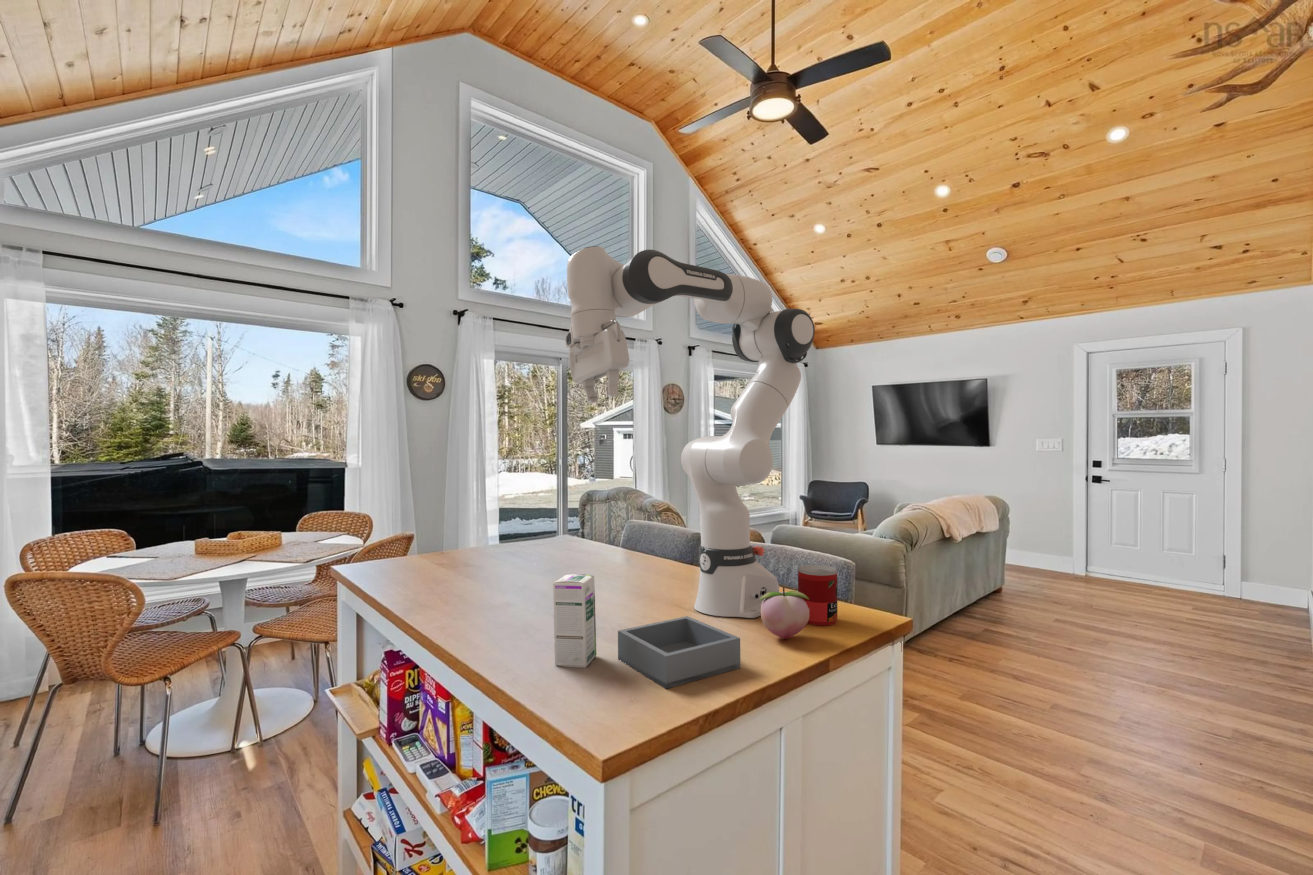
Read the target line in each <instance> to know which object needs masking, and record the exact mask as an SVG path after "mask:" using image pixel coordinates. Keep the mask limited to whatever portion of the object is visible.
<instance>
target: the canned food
mask: <svg viewBox="0 0 1313 875" xmlns="http://www.w3.org/2000/svg"><path fill="white" fill-rule="evenodd" d="M797 588H798V589H797V591H798V592H801V593H803V594H804V595H806V596H807V597H808V598H809V599H806V598H803V597H802V598H803V599H804V601H805V602H806V604H807V606H808V609H809V620H808V623H807V624H806V625H811V626H814V627H815V626H816V627H817V626H818V627H827V626H833V625H835V624H837V621H838V616H839V615H838V569H837V568H835V567H834V566H829V565H823V564H805V565H803V564H802V565H800V566H798V568H797Z"/></svg>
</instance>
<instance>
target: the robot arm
mask: <svg viewBox="0 0 1313 875" xmlns="http://www.w3.org/2000/svg"><path fill="white" fill-rule="evenodd" d="M566 281H567V282H566V283H567V294H568V298H569V300H570V303H571V311H570V320H571V322H570V323H571V324H570V325H569V330H568V333H567V334H566V336H565V339H564V344H565V347H566V348H569V349H568V362H569V370H570V375H571V379H572V381H573V382H574V384H578V385H579V384H580V385H581V384H582V388H583V390H584V392H585V395H586V401H587V403H588V404H594V403H597V402H598V401H599V398H598V393H596V389H595V385H596V384H595V381H596V380H599V379H602V378H604V377H606V378H607V386H605V391H606V396H607V397H615V396H618V395H619V388H618V385H619V381H620V371H621V370H623V369H626V368H628V367H629V363H630V355H629V354H630V353H629V349H628V345H627V338H626V335H625V333H624V331H623V330H622V329H621V325H620V323H619V322H618V321H617V317H619V318H620V317H621V318H629V317H634V316H636V315H638V314H641V313H642V312H645V311H646V310H647V309H649V308H651V307H653V306H655V305H657V304H659V303H662V302H664V301H667V300H668V299H671V298H672V297H676V296H678V297H684V298H690V299H693V302H694V307H695V309H696V312H697V313H698V315H699V316H700V318H701V319H702V320H705V321H708V322H710V323H711V322H712V323H715V324H726V325H727V324H730V325H731V324H732V335H731V339H732V342H731V343H732V347H733V350H734V353H735V354H736V356H737V357H738V358H740V360H742V361H745V362H750V363H758V366H757V369H756V371H755V374H754V375H753V376H752V378H750V380H749V382H748V383H747V385H746V386H745V387H744V389H743V390H742V392H740V395H739V396H738V397H737V399H736V400H735V402H733V405H732V406H731V409H730V418H731V420H732V423H731V426H730V428H729V430H728V431H727V432H726V433H724V434H723V435H705V436H702V437H698V438H695V439H693V440H691V441H689V442H688V443H687V444H686V445H684V448H683V449H682V451H681V455H680V462H681V467H682V469H683V471H684V473H685V474H686V475H687V477H688V478H689V479H690V481H691V483H692V486H693V488H694V492H695V495H696V499H697V504H698V508H699V515H700V520H699V522H700V545H699V548H698V562H699V569H700V571H699V572H700V573H699V580H698V588H697V594H696V599H695V602H694V606H693V607H694V609H695V610H696V611H698V612H700V613H702V614H705V615H710V616H716V617H727V618H729V617H731V618H732V617H733V618H735V617H737V618H744V619H745V618H746V619H755V618H757V617H761V604H762V602H763V600H764V599H763V600H760V598H761V597H762V596H763V595H765V594H766V593H769V592H780V586H779V585H780V584H779V582H778V579H777V577H776V576H775V575H774V574H773V573H772V572H770V571H769V570H767V568H765V567H764V566H763V565H762V564H761V563H759V562H758V561H757V557H756V556H759V557H762V556H764V555H765V548H764V547H763V546H758V545H756V546H753V545H751V527H750V526H751V525H750V522H751V521H750V520H751V518H750V517H751V516H750V511H749V509H748V507H747V506H746V505H745V504H744V502H743V500H742V499H741V498H740V496H739V493H738V489H737V487H745V486H750V485H751V486H752V485H754V484H759V483H762V482H764V481H765V480H766V479H767V478H768V477H769V476H770V474H771V472H772V469H773V464H774V459H773V458H774V456H773V453H772V450H771V448H770V441H771V438H772V435H773V433H774V431H775V429H776V428H777V426H778V424H779V422H780V421H781V419H782V417H783V416H784V414H785V413H786V412H787V410H788V408H789V406H791V403H792V401H793V399H794V397H795V395H796V393H797V390H798V388H799V386H800V383H801V380H802V374H801V371H800V368H799V366H798V365H797V364H798V363H800V362H802V361H803V360H804V359H806V357H807V355H808V351H809V350H810V348H811V346H812V344H813V342H814V339H815V333H816V332H815V331H816V330H815V324H814V321H813V318H812V317H811V315H810V314H809V313H808V312H807V311H806V310H803V309H801V308H785V309H783V310H776V311H774V310H775V309H773V307H772V305H773V294H772V291H771V289H770V288H769V286H768V285H767V284H766V283H765V282H764V281H760V280H759V279H755V278H752V277H749V276H745V275H742V274H741V275H740V274H733V273H724V272H722V271H720V270H716V269H713V268H707V267H704V266H698V265H694V264H689V263H685V262H684V263H683V262H680V261H678V260H675V258H672V257H670V256H668V255H667V254H666V253H663V252H661V251H659V250H656V249H644V250H640V251H639V252H637V253H636V254H635V255H634V256H633V257H632V258H631V259H629V261H628V262H626V263H625V264H623V263H621V262H619V261H617V260H616V259H614V258H613V257H612V256H610V255H609V253H607V251H606V249H605V248H604V247H603V246H598V245H597V246H596V245H592V246H587V247H583V248H581V249H578V250H576V251H575V252H573V254H572V255H570V257H568V259H567V264H566ZM759 600H760V601H759Z"/></svg>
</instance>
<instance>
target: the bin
mask: <svg viewBox="0 0 1313 875" xmlns="http://www.w3.org/2000/svg"><path fill="white" fill-rule="evenodd" d="M617 660H618V661H620V660H621V661H620V662H622V663H623V662H624V664H625V663H626V664H625V665H627V666H628V665H629V667H630V668H631V667H632V669H633V670H635V671H636V670H637V671H636V672H638V673H639V672H640V674H641V675H642V676H644V675H645V676H644V677H646V678H647V679H649V680H651V681H652V682H654V683H655V684H657V685H659V686H660V687H662V688H664V689H665V690H667V688H668V689H671V688H674V687H679V686H681V685H686V684H689V683H692V681H693V682H696V681H699V679H700V680H703V679H707V678H710V677H714V676H717V675H721V674H724V673H728V672H731V671H734V669H735V670H737V669H741V637H739V636H737V635H734V634H731V633H729V632H726V631H724V630H722V629H719V628H717V627H714V626H712V625H710V624H708V623H705V622H703V621H700V620H698V619H695V618H693V617H691V616H688V615H685V616H680V617H675V618H671V619H667V620H662V621H658V622H653V623H648V624H644V625H639V626H638V625H637V626H634V627H633V626H632V627H629V628H625V629H620V630H619V629H618V630H617ZM713 675H714V676H713ZM688 682H689V683H688ZM685 683H686V684H685ZM678 685H679V686H678Z"/></svg>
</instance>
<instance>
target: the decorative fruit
mask: <svg viewBox="0 0 1313 875" xmlns="http://www.w3.org/2000/svg"><path fill="white" fill-rule="evenodd" d="M785 588H786V587H785V586H782V591H779V592H769V593H766V594H765V595H763V596H762V597H761V598H760V600H763V599H764V600H763V602H762V604H761V616H760V618H761V621H762V624H763V625H764V628H766V630H768V631H769V632H770V633H771V634H773V635H774V636H776V637H779V638H781V639H783V640H787V639H790V638H792V637H794V636H795V635H797V634H798V633H800V632H801V631H802V630H804V628H805V627H806V625H808V624H807V623H808V620H809V609H808V606H807V604H806V602H805V601H804V599H803V598H806V599H809V598H808V597H807V596H806V595H804V594H803V593H801V592H798V590H789V591H786V590H785ZM802 597H803V598H802ZM760 600H759V601H760Z"/></svg>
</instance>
